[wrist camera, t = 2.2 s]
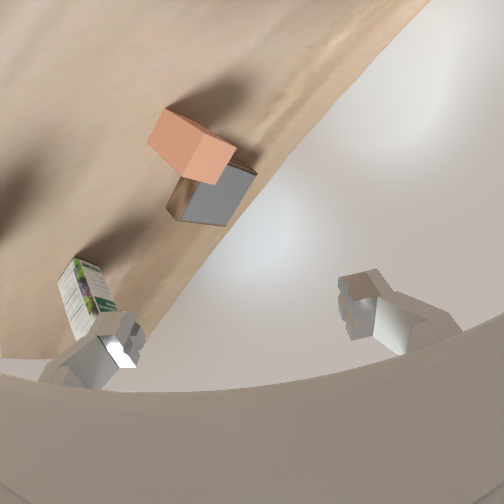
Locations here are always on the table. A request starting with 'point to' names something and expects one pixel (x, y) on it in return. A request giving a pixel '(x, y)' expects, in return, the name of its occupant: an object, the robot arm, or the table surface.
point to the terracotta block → (190, 147)
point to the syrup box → (84, 295)
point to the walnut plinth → (211, 196)
